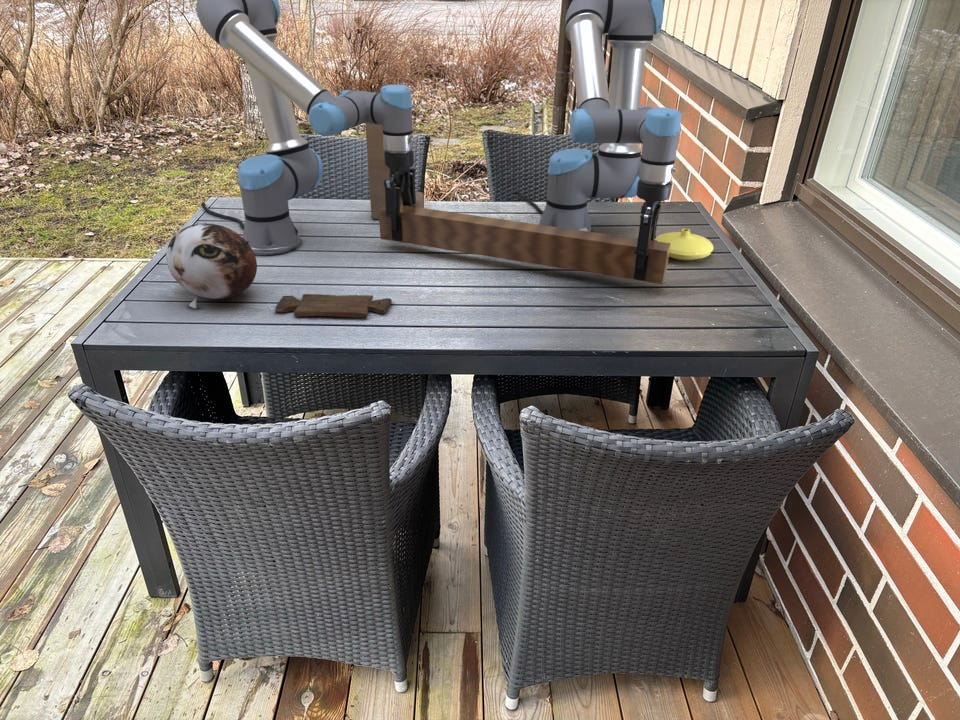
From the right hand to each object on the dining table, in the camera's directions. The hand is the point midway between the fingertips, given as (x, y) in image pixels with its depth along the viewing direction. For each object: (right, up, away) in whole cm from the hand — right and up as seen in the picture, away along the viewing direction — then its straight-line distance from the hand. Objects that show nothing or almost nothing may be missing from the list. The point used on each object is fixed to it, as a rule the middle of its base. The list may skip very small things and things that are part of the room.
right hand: (641, 274), depth 174 cm
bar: (-30, +6, +10) cm, 32 cm away
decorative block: (-65, +23, +44) cm, 81 cm away
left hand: (-61, +13, +20) cm, 65 cm away
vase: (+16, +8, +21) cm, 27 cm away
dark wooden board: (-73, -9, -10) cm, 74 cm away
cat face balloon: (-101, -6, -5) cm, 102 cm away
